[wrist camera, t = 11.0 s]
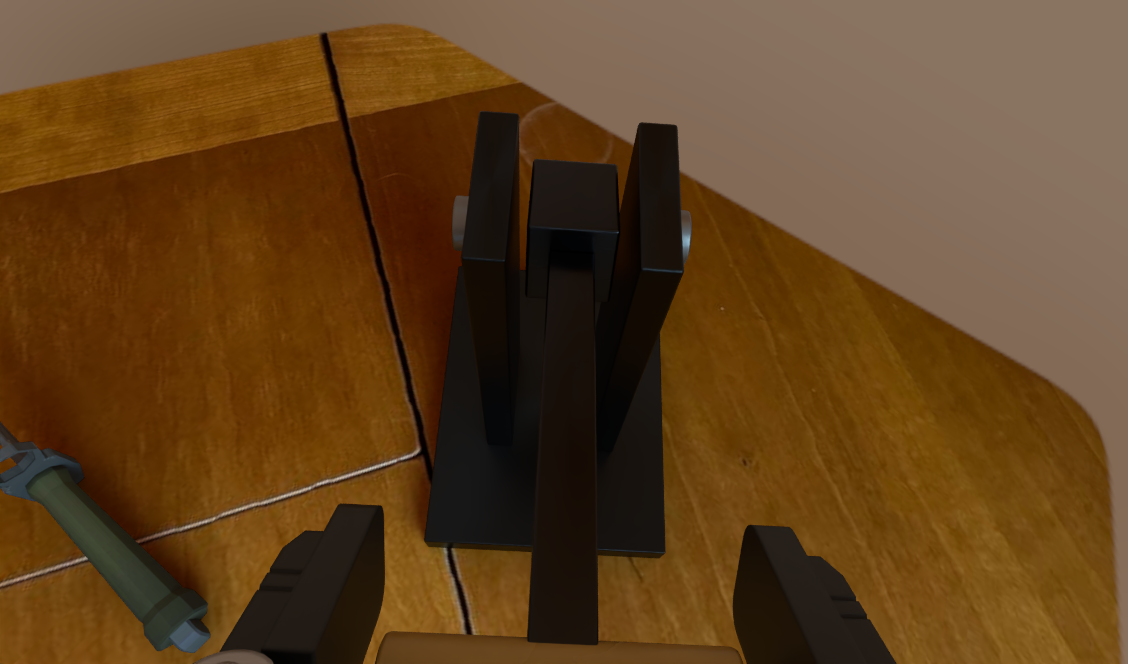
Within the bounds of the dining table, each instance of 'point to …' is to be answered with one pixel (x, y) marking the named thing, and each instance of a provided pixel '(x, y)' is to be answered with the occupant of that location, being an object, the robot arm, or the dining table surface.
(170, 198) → the dining table surface
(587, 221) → the lever
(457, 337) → the latch bracket
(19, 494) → the knife
